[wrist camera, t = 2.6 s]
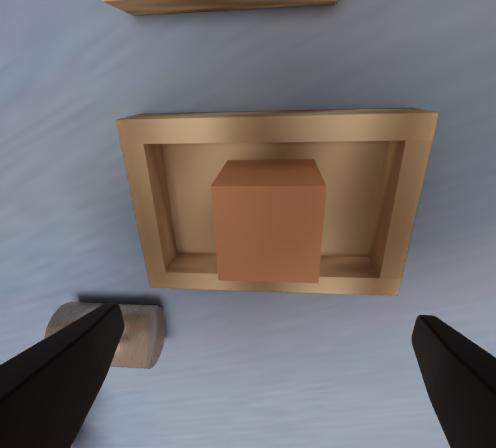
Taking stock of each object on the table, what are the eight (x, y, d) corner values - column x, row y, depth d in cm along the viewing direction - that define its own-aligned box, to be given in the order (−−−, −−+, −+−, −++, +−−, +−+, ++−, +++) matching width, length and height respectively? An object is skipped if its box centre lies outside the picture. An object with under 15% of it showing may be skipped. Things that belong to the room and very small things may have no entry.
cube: (314, 159, 17) (326, 186, 13) (309, 236, 19) (318, 283, 15) (227, 160, 18) (210, 186, 13) (232, 235, 20) (218, 280, 15)
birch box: (412, 107, 16) (439, 112, 13) (381, 267, 20) (397, 295, 18) (140, 114, 18) (115, 119, 15) (165, 262, 22) (150, 287, 19)
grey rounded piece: (143, 312, 20) (140, 379, 20) (166, 300, 25) (164, 355, 24) (46, 308, 21) (42, 373, 21) (86, 297, 25) (83, 351, 25)
